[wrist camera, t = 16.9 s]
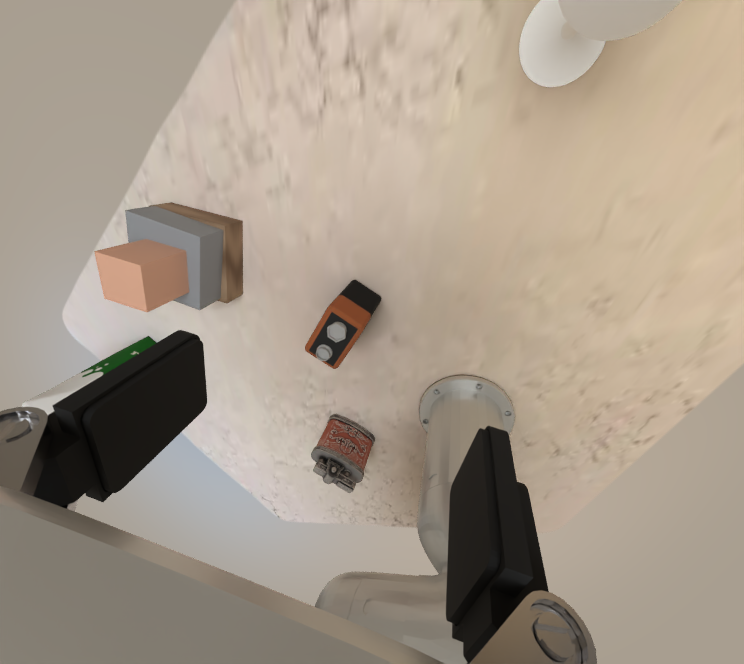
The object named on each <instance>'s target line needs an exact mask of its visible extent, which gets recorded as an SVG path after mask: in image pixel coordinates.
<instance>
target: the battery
mask: <svg viewBox="0 0 744 664" xmlns="http://www.w3.org/2000/svg"><path fill="white" fill-rule="evenodd" d="M380 301H381V297H380V296H379V295H377V294H376V293H374V292H373V291H371V290H370V289H368V288H367V287H365V286H364V285H362V284H361V283H359V282H358V281H356V280H353V281H352V282H351V283H350V284H349V285H348V286H347V287H346V288H345V289H344V290H343V291H342V292H341V293H340V295H339V296H338V297H337V298H336V299H335V300H334V301H333V302H332V303H331V304H330V305H329V307H328V308H327V310H326V311H325V313H324V315H323V316H322V318H321V320H320V322H319V323H318V325H317V327H316V329H315V330H314V332H313V334H312V335H311V337H310V339H309V341H308V342H307V344H306V346H305V350H306V351H307V352H308V353H310V354H311V355H313V356H314V357H316V358H318V359H319V360H321V361H322V362H324V363H325V364H327V365H328V366H330V367H332V368H333V369H336V368H338V367H339V365H340V364H341V362H342V361H343V359H344V358H345V357H346V355H347V354H348V352H349V351H350V349H351V348H352V346H353V345H354V343H355V342H356V340H357V339H358V338H359V336H360V335H361V333H362V332H363V330H364V328H365V327H366V325H367V323H368V322H369V320H370V318H371V316H372V315H373V313H374V311H375V310H376V308H377V306H378V304H379V303H380Z"/></svg>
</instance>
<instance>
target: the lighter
mask: <svg viewBox="0 0 744 664" xmlns="http://www.w3.org/2000/svg"><path fill="white" fill-rule="evenodd" d="M374 441H375V437H374V436H373V434H371V433H370V432H369V431H368V430H366V429H365V428H364V427H362V426H360V425H359V424H357V423H356V422H354V421H352V420H350V419H348V418H345V417H343V416H340V415H338V414H333V415H331V416H330V418H329V420H328V424H327V426H326V428H325V430H324V432H323V434H322V436H321V438H320V440H319V442H318V444H317V446H316V447H315V448H314V449H313V451H312V454H311V457H312V459H313V460H314V461H316V462H317V463H316V465H315V467H314V469H313V471H314V472H315V473H316V474H318V475H320V476H322V477H323V481H324V482H325V483H327V484H330V483H334V484H336V486H338V487H340V488H341V489H343V490H345V491H347V492H348V493H351V492H353V491H354V488H355V485H356V483H359V482H361V481H362V479H363V476H364V469H365V466H366V462H367V459H368V456H369V453H370V450H371V447H372V446H373V444H374Z"/></svg>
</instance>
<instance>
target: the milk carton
mask: <svg viewBox="0 0 744 664" xmlns="http://www.w3.org/2000/svg"><path fill="white" fill-rule="evenodd" d="M154 344H156V342H155V341H153V340H152V339H151V338H150V337H149V336H148V337H146V338H144V339H142V340H140V341H138V342H136V343H134V344H132V345H130V346H129V347H127V348H125V349H123V350H121V351H119V352H117V353H115V354H113V355H111V356H110V357H108V358H106V359H104V360H102V361H100V362H99V363H97V364H95V365H93V366H91V367H90V368H88V369H86V370H84V371H82V372H81V373H79V374H77V375H75V376H73V377H72V378H70V379H68V380H66V381H64V382H62V383H61V384H59V385H57V386H56V387H54V388H52V389H50V390H48V391H46V392H44V393H42V394H40V395H38V396H36V397H34V398H32V399H30V400H28V401H26V402H23V404H22V407H36V408H40V409H42V410H44V411H45V412H46V414H47V415H49V414H50V413H52V412H54V409H53V406H52V405H54V404H56V403H57V402H59V401H61V400H62V399H64V398H66V397H67V396H69V395H71V394H72V393H74V392H76V391H77V390H79V389H81V388H82V387H84V386H86V385H87V384H89V383H91V382H92V381H94V380H96V379H97V378H99V377H101V376H102V375H104V374H106V373H107V372H109V371H111V370H112V369H114V368H116V367H117V366H119V365H121V364H122V363H124V362H126V361H128V360H129V359H131V358H133V357H134V356H136V355H138V354H139V353H141V352H143V351H144V350H146V349H148V348H149V347H151V346H153V345H154Z"/></svg>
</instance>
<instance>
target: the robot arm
mask: <svg viewBox="0 0 744 664" xmlns="http://www.w3.org/2000/svg"><path fill="white" fill-rule="evenodd" d="M206 404H207V392H206V379H205V365H204V351H203V343H202V341H200V338H199V337H198V336H197V335H195V334H192V333H189V332H186V331H182V330H179V331H176V332H174V333H173V334H171V335H169V336H168V337H166V338H164V339H163V340H161V341H159V342H158V343H156V344H154V345H153V346H151V347H149V348H148V349H146V350H144V351H143V352H141V353H139V354H138V355H136V356H134V357H133V358H131V359H129V360H128V361H126V362H124V363H122V364H121V365H119V366H117V367H116V368H114V369H112V370H111V371H109V372H107V373H106V374H104V375H102V376H101V377H99V378H97V379H96V380H94V381H92V382H91V383H89V384H87V385H86V386H84V387H82V388H81V389H79V390H77V391H76V392H74V393H72V394H71V395H69V396H67V397H66V398H64V399H62V400H61V401H59V402H57V403H56V404H54V405H52V406H53V409H54V412H52V413H50V414H49V415H47V414H46V412H45V411H44V410H42V409H40V408H36V407H17V408H12V409H7V410H4V411H1V412H0V664H597V659H596V649H595V646H594V643H593V640H592V637H591V635H590V633H589V631H588V629H587V627H586V625H585V624H584V622H583V620H582V619H581V618H580V617H579V615H578V614H577V613H576V612H575V610H574V609H573V608H572V607H571V606H570V605H568V604H567V603H566V602H565V601H564V600H563V599H561V598H560V597H557V596H556V595H554V594H553V593H550V592H549V591H548V586H547V581H546V576H545V571H544V567H543V562H542V557H541V552H540V547H539V542H538V537H537V532H536V527H535V522H534V517H533V512H532V507H531V502H530V497H529V493H528V489H527V487H526V486H525V484H522V483H519V482H517V480H516V474H515V469H514V463H513V457H512V451H511V445H510V440H509V434H510V433H511V431H512V429H513V426H514V421H515V415H514V409H513V406H512V403H511V401H510V399H509V397H508V396H507V394H506V393H505V392H504V391H503V390H502V389H501V388H499V387H498V386H497V385H495V384H494V383H492V382H490V381H488V380H485V379H482V378H479V377H474V376H462V375H459V376H452V377H448V378H445V379H442V380H440V381H438V382H436V383H434V384H433V385H432V386H431V387H429V388H428V389H427V391H426V392H425V393H424V395H423V397H422V399H421V402H420V407H419V417H420V421H421V424H422V426H423V428H424V429H425V431H426V432H427V441H426V449H425V457H424V465H423V473H422V481H421V489H420V497H419V505H418V514H417V527H418V534H419V538H420V541H421V543H422V546H423V548H424V550H425V552H426V554H427V556H428V558H429V559H430V561H431V563H432V564H433V566H434V567H435V569H436V570H437V572H438V573H439V574H438V575H435V576H426V575H419V576H413V575H400V574H389V573H377V572H348V573H343V574H340V575H338V576H336V577H335V578H333V579H332V580H331V581H330V582H329V583H327V585H326V586H325V588H324V589H323V590H322V592H321V593H320V595H319V598H318V600H317V602H316V604H315V607H314V606H311V605H309V604H306V603H304V602H301V601H299V600H296V599H294V598H291V597H289V596H286V595H284V594H282V593H279V592H277V591H274V590H272V589H269V588H267V587H264V586H262V585H259V584H256V583H254V582H252V581H249V580H247V579H244V578H242V577H239V576H237V575H234V574H232V573H229V572H227V571H224V570H221V569H219V568H217V567H214V566H211V565H209V564H206V563H204V562H201V561H199V560H196V559H194V558H191V557H189V556H186V555H183V554H181V553H179V552H176V551H174V550H171V549H168V548H166V547H163V546H161V545H159V544H156V543H153V542H151V541H148V540H146V539H143V538H141V537H138V536H135V535H133V534H130V533H128V532H125V531H123V530H120V529H118V528H115V527H113V526H110V525H107V524H105V523H102V522H100V521H97V520H94V519H92V518H89V517H87V516H84V515H82V514H79V513H77V512H75V509H76V504H77V500H78V499H79V498H80V497H81V496H82V495H83V494H84V493H86V496H88V497H91V498H94V499H96V500H98V501H101V502H104V501H105V500H106V499H107V498H108V497H109V496H110V495H111V494H112V493H116V492H118V491H120V490H121V489H122V488H124V487H125V486H126V485H127V484H128V483H129V481H131V480H132V479H133V478H134V477H135V476H136V475H137V474H138V473H139V472H140V471H141V470H142V469H143V468H144V467H145V466H146V465H147V464H148V463H149V462H150V461H152V459H154V457H156V456H157V455H158V454H159V453H160V452H161V451H162V450H163V449H164V448H165V447H166V446H167V445H168V444H169V443H170V442H171V441H172V440H173V439H174V438H175V437H176V436H177V435H178V434H179V433H180V432H182V431H183V430H184V429H185V428H186V427H187V426H188V425H189V424H190V423H191V422H192V421H193V420H194V419H195V418H196V417H197V416H198V415H199V414H200V413H201V412H202V411H203V410H204V408H205V407H206Z"/></svg>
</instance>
